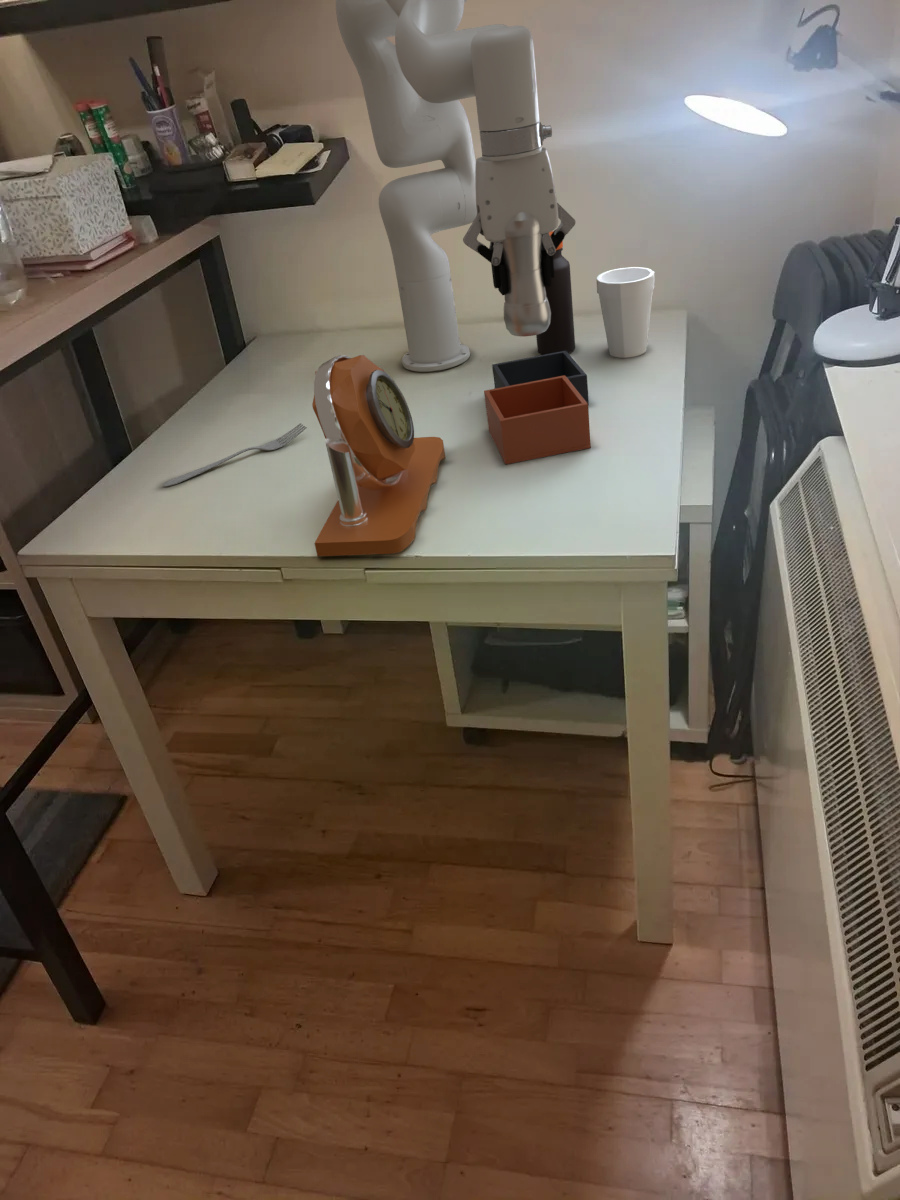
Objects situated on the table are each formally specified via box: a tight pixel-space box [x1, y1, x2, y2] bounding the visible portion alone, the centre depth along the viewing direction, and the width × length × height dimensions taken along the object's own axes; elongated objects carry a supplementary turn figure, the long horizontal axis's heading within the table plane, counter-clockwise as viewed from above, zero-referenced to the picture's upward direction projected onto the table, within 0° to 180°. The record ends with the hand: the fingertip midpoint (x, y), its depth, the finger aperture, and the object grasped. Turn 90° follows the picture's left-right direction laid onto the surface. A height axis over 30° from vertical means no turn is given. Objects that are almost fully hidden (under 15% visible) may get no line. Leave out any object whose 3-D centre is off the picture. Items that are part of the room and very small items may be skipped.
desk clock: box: [311, 354, 446, 557], centre depth 122 cm, size 12×30×20 cm, turn 171°
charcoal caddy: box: [491, 351, 590, 407], centre depth 149 cm, size 12×12×5 cm
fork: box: [162, 423, 308, 488], centre depth 146 cm, size 3×24×2 cm, turn 122°
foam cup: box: [595, 266, 656, 359], centre depth 159 cm, size 10×9×13 cm
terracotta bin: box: [483, 375, 592, 465], centre depth 136 cm, size 12×12×7 cm
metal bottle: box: [501, 212, 551, 337], centre depth 125 cm, size 6×7×20 cm
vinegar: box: [535, 230, 576, 356], centre depth 163 cm, size 7×7×20 cm
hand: (524, 287), depth 127 cm, fingers closed on metal bottle, 5 cm apart
